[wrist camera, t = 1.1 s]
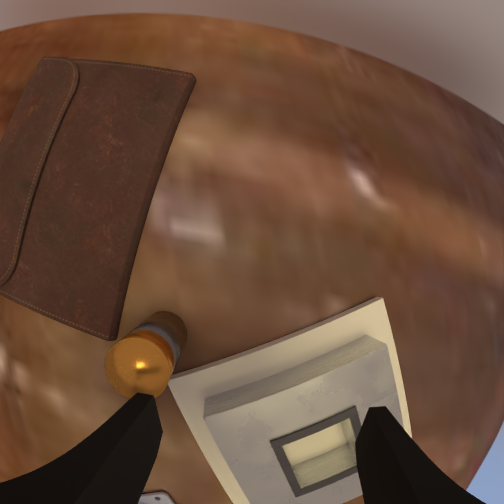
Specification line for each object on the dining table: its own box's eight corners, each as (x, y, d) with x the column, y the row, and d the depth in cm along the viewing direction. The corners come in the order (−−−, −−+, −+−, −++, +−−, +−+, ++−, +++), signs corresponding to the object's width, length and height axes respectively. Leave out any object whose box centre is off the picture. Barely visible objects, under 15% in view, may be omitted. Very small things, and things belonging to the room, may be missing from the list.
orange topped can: (153, 358, 20) (122, 407, 12) (137, 318, 20) (94, 349, 12) (193, 346, 21) (179, 392, 13) (177, 305, 21) (153, 330, 13)
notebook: (196, 84, 22) (195, 70, 20) (119, 337, 21) (110, 344, 19) (48, 66, 20) (39, 56, 18) (-23, 275, 19) (-37, 276, 17)
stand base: (246, 518, 20) (247, 525, 19) (168, 376, 20) (166, 380, 19) (409, 450, 22) (414, 455, 21) (376, 296, 22) (382, 298, 21)
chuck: (262, 507, 20) (267, 531, 16) (205, 398, 20) (203, 419, 16) (393, 452, 21) (411, 470, 18) (366, 334, 21) (388, 344, 18)
